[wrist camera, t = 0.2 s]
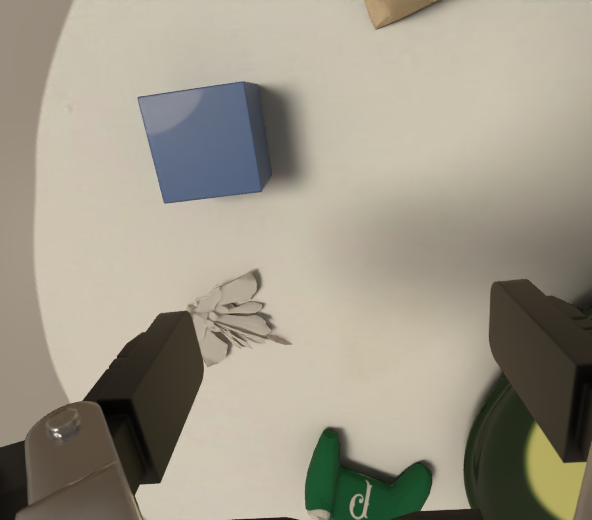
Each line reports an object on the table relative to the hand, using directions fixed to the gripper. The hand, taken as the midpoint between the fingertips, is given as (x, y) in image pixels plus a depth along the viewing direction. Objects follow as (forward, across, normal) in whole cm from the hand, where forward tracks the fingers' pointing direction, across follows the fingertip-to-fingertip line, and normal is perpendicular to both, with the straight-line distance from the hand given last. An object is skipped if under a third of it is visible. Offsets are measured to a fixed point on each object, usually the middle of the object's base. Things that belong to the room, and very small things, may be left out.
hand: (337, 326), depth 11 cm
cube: (+15, +6, -4) cm, 16 cm away
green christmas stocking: (+15, 0, +22) cm, 26 cm away
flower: (+15, +7, +8) cm, 18 cm away
